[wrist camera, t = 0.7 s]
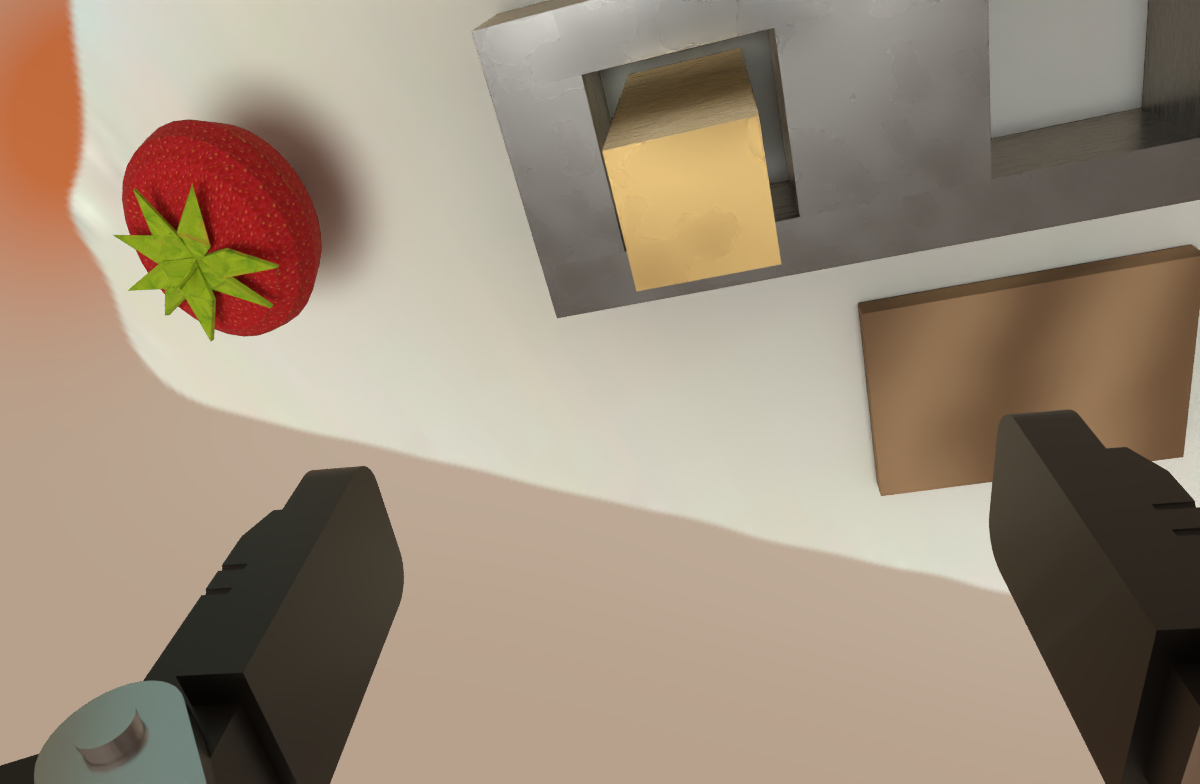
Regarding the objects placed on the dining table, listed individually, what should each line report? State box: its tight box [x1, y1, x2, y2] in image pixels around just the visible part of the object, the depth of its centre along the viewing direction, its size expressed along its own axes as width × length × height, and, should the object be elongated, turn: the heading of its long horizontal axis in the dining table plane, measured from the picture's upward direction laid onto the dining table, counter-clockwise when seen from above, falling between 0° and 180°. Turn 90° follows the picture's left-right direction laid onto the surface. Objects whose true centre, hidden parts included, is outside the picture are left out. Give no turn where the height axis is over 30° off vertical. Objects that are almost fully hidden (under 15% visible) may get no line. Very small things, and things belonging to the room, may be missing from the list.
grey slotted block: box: [472, 0, 1200, 318], centre depth 28 cm, size 24×10×4 cm, turn 104°
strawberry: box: [114, 120, 321, 341], centre depth 29 cm, size 6×8×10 cm
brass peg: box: [602, 48, 781, 291], centre depth 27 cm, size 4×4×10 cm
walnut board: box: [858, 245, 1200, 496], centre depth 34 cm, size 12×9×1 cm
